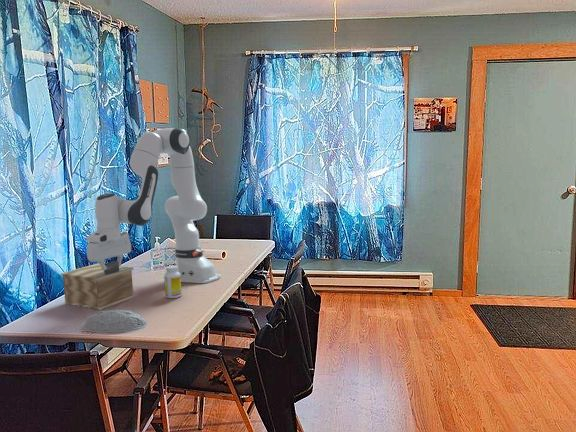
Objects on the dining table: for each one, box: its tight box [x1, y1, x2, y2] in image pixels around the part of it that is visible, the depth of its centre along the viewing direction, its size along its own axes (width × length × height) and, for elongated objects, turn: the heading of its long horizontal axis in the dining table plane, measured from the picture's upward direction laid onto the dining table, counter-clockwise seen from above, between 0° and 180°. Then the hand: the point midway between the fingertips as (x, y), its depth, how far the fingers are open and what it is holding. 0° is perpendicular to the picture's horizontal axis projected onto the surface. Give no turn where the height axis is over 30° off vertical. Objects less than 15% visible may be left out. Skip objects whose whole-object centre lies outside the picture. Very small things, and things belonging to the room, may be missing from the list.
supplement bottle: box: [163, 265, 183, 299], centre depth 224 cm, size 7×7×13 cm
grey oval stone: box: [82, 309, 148, 334], centre depth 192 cm, size 16×25×7 cm, turn 80°
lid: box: [60, 260, 134, 280], centre depth 220 cm, size 21×19×5 cm
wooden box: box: [62, 270, 134, 311], centre depth 221 cm, size 20×18×12 cm
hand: (111, 268), depth 216 cm, fingers closed on lid, 6 cm apart
